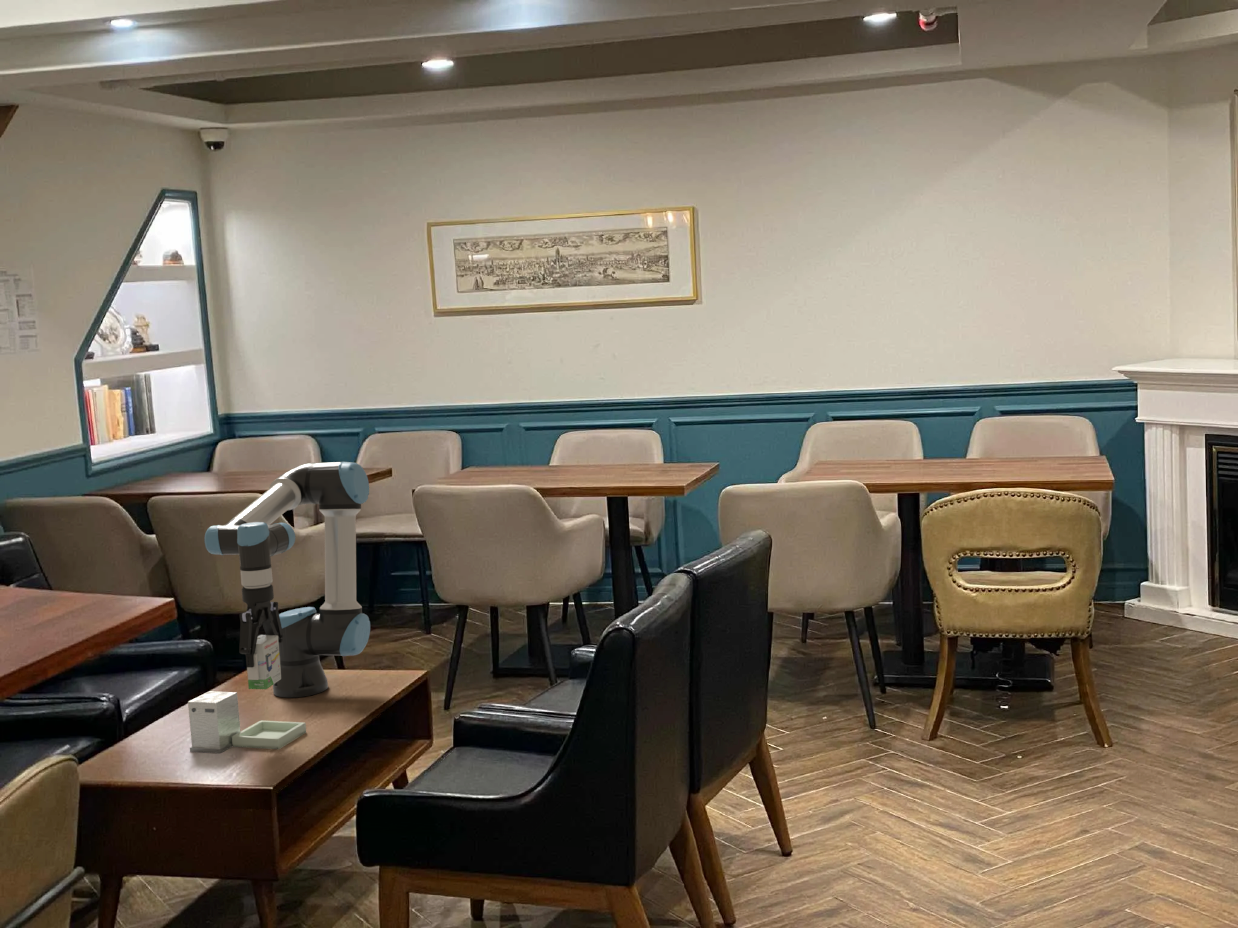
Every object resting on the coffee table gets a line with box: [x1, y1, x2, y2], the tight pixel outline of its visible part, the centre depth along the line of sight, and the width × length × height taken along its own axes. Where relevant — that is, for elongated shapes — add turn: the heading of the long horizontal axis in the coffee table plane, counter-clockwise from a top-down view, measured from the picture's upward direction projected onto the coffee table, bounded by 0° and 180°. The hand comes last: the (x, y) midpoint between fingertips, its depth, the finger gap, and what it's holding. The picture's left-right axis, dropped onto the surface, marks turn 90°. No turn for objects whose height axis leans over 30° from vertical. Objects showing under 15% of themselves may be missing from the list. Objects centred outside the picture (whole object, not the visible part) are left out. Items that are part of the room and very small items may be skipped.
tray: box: [232, 720, 307, 750], centre depth 330 cm, size 13×13×3 cm
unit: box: [187, 690, 241, 754], centre depth 326 cm, size 10×9×12 cm
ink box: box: [247, 634, 281, 690], centre depth 328 cm, size 9×5×12 cm, turn 168°
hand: (264, 673), depth 328 cm, fingers closed on ink box, 9 cm apart
